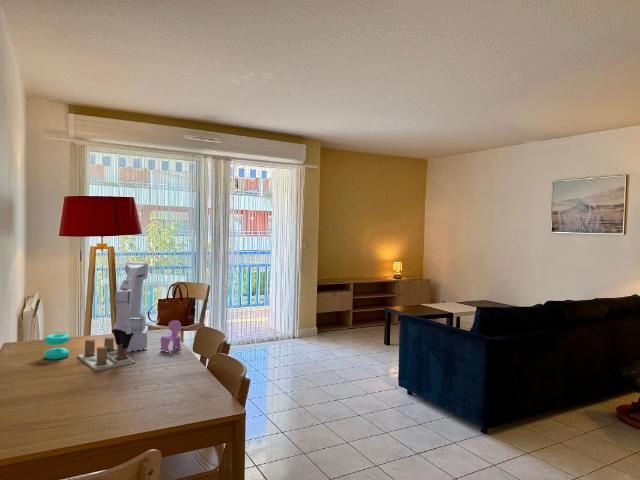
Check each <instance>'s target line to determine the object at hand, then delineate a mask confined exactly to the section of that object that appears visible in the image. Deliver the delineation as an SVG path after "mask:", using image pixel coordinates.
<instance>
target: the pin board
mask: <svg viewBox="0 0 640 480" xmlns="http://www.w3.org/2000/svg"><path fill="white" fill-rule="evenodd" d="M114 343H115V337H112V336H109V337H104V343H103V344H104V346H99V347H97V348H96V347H95V346H96V345H95V344H96V339H94V338H92V339H91V338H90V339H86V340H85V341H84V354H83V353H82V354H77V356H76V357H77V359H79V360H80V361H81V362H82V363H83V364H84V363H85V365H87V367H89V368H91V369H92V370H93V371H101V370H106V369H112V368H116V367H117V368H118V367H122V366H123V365H124V366H128V364H129V365H133V363H135V364H136V361H135V360H134V359H133V358H132V357H130V356H128V355H127V359H125V360H120V361H117V348H115V346H114V345H115V344H114ZM95 348H96V352H95Z"/></svg>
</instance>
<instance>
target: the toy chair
mask: <svg viewBox="0 0 640 480" xmlns="http://www.w3.org/2000/svg"><path fill="white" fill-rule="evenodd" d="M181 328H182V324H181V322H180V321H179V320H177V319H176V320H175V319H173V320H171V321H169V322H168V330H169V331H171V333H170V334H167V335H162V336H161V337H160V351H161V350H164V351H168V352H170V350H169V345H170V342H171V341H172V348H173V347H177V348H182V347H181V335H178V333H179V332H178V331H179V330H180V329H181Z"/></svg>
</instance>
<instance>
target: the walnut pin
mask: <svg viewBox="0 0 640 480" xmlns="http://www.w3.org/2000/svg"><path fill="white" fill-rule="evenodd" d="M116 346H117V347H116V349H117V361H120V360H125V359H127V356H128V355H127V353H128V352H127V349H123V348H122V344H121V345H116Z"/></svg>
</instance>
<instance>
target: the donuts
mask: <svg viewBox="0 0 640 480" xmlns="http://www.w3.org/2000/svg"><path fill="white" fill-rule="evenodd" d="M69 341H70V335H69V334H68V333H53V334H49V335H47V336H45V337H44V343H45V344H47V345H52V346H55V345H56V346H57V345H63V344H65V343H68V342H69ZM69 355H70V350H68V348H64V347H54V348H49V349H48V350H46V351H45V352H44V353H43V358H44V359H48V360H61V359H64V358H67V357H68V356H69Z"/></svg>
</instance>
